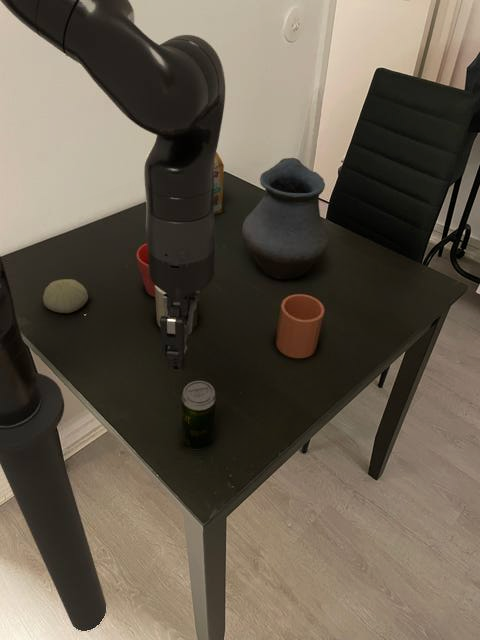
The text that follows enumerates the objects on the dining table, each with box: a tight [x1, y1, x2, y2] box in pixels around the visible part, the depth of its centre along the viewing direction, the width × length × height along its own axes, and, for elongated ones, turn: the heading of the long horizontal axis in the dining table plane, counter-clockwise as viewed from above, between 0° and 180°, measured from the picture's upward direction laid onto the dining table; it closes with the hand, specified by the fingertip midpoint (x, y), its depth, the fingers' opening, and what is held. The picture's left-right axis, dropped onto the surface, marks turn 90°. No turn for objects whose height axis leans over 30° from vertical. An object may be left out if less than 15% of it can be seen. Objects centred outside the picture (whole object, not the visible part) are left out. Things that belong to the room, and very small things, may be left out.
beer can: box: [181, 380, 217, 451], centre depth 82 cm, size 5×5×12 cm
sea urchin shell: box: [42, 278, 89, 314], centre depth 109 cm, size 9×8×8 cm
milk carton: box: [213, 151, 225, 215], centre depth 139 cm, size 11×11×19 cm
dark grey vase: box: [241, 157, 330, 280], centre depth 118 cm, size 21×22×25 cm
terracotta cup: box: [275, 293, 325, 359], centre depth 102 cm, size 8×8×10 cm
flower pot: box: [136, 242, 156, 298], centre depth 113 cm, size 11×11×10 cm
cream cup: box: [155, 285, 165, 328], centre depth 105 cm, size 8×8×10 cm
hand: (183, 346), depth 67 cm, fingers open, 8 cm apart
